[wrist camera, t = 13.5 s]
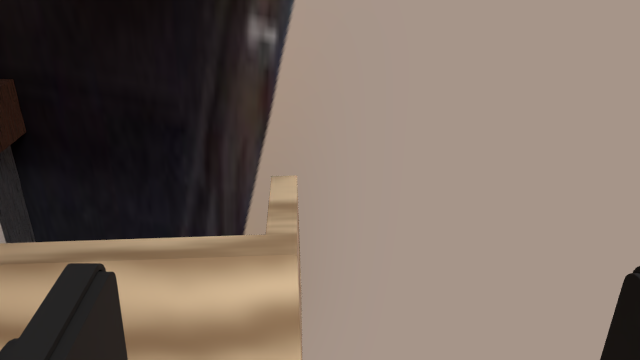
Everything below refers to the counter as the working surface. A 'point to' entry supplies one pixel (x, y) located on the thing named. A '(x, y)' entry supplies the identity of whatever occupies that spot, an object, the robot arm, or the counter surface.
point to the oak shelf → (181, 288)
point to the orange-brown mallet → (11, 170)
